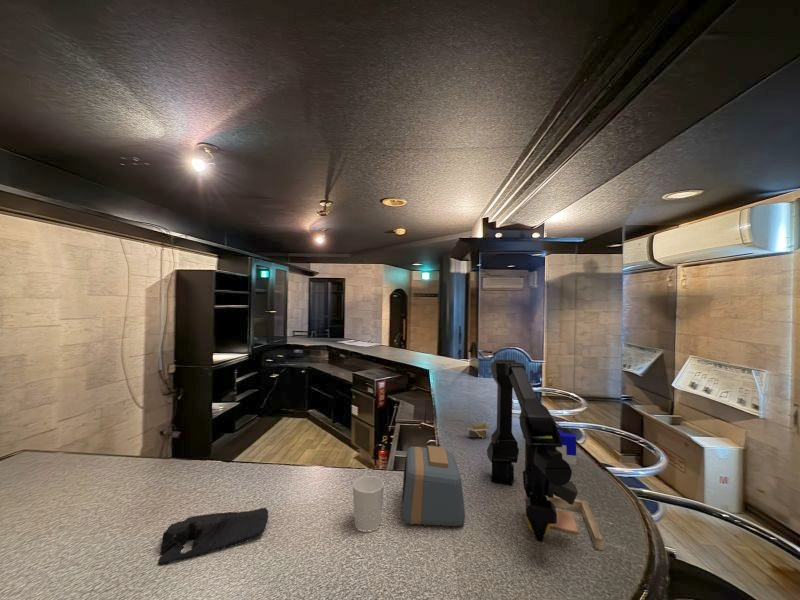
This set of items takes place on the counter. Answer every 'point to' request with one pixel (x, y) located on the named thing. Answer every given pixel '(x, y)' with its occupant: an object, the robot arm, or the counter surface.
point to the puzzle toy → (567, 445)
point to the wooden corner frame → (568, 523)
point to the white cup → (368, 502)
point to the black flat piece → (211, 533)
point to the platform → (477, 430)
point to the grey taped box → (432, 488)
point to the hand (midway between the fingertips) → (538, 528)
